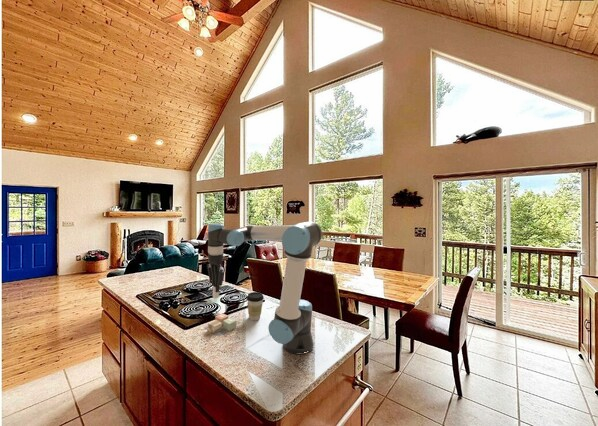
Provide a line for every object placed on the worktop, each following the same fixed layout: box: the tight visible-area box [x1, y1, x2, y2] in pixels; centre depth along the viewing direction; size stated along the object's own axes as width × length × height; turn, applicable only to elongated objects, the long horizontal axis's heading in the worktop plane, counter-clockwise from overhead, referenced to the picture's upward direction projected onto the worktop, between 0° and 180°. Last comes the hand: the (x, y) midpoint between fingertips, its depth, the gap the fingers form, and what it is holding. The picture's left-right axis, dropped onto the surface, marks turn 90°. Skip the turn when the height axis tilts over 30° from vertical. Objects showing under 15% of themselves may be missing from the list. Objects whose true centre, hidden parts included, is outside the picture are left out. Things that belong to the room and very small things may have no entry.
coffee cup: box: [246, 291, 265, 321], centre depth 167 cm, size 10×10×15 cm
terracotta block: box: [214, 312, 229, 325], centre depth 160 cm, size 5×5×4 cm
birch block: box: [207, 320, 222, 335], centre depth 152 cm, size 5×5×4 cm
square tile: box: [204, 325, 229, 337], centre depth 155 cm, size 12×12×1 cm
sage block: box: [223, 316, 238, 332], centre depth 156 cm, size 5×5×4 cm
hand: (215, 297), depth 150 cm, fingers closed
